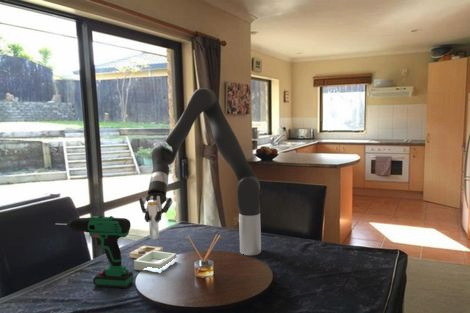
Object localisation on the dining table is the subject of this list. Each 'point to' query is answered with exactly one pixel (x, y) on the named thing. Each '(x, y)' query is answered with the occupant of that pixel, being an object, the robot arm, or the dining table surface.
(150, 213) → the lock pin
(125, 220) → the power drill
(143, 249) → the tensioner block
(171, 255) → the tray
